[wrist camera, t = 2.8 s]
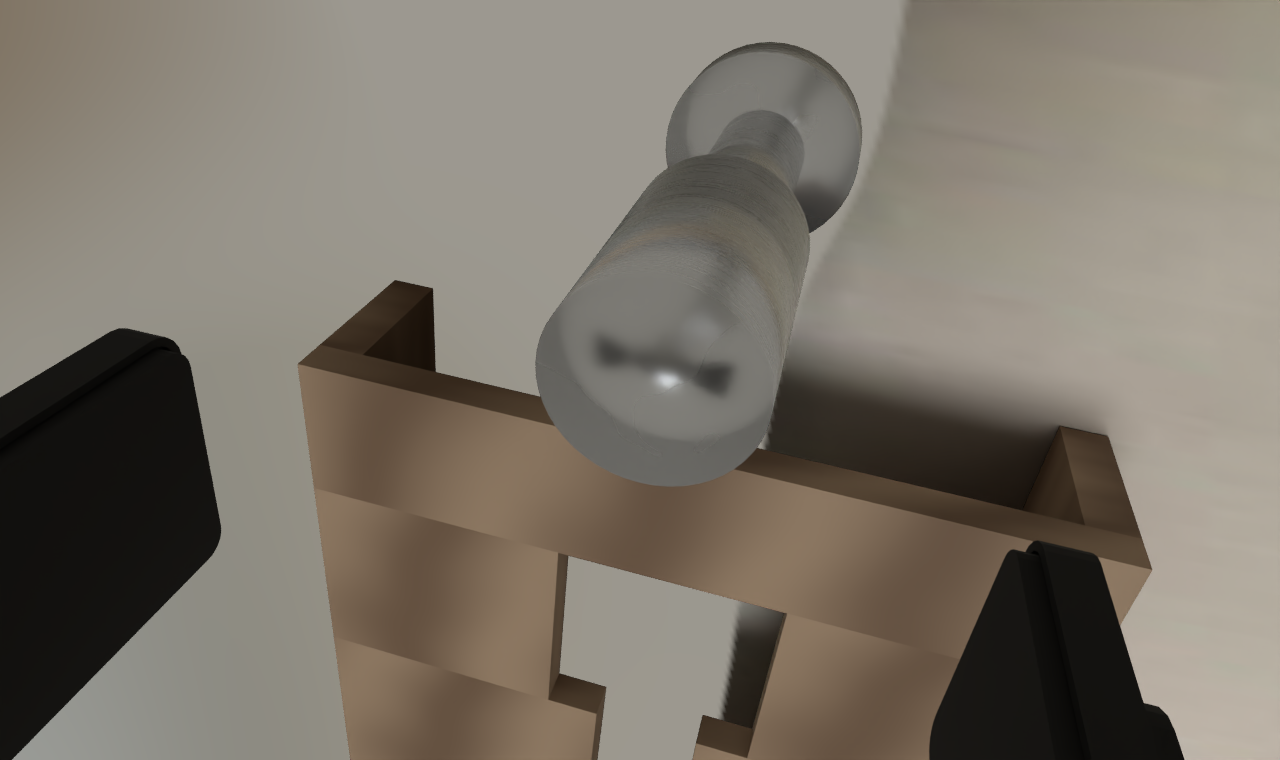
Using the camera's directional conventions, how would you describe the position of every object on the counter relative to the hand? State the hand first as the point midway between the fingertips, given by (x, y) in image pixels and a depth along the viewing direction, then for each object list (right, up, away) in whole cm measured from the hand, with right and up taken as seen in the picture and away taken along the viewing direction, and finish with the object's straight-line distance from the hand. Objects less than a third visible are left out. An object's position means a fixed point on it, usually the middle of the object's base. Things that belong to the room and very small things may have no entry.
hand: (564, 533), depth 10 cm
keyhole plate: (+2, -8, +21) cm, 22 cm away
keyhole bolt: (+4, +7, +11) cm, 14 cm away
